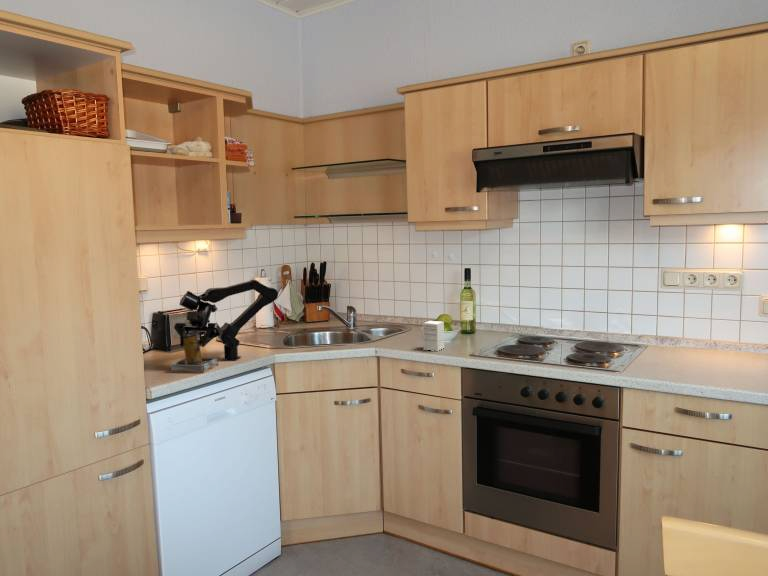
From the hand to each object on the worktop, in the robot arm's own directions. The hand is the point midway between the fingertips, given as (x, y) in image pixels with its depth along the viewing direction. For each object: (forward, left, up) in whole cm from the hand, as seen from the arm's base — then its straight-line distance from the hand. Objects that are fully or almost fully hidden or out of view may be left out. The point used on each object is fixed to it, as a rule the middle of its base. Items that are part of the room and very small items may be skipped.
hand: (191, 346), depth 253 cm
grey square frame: (-1, 0, -10) cm, 10 cm away
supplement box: (-44, +94, -10) cm, 105 cm away
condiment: (-1, +1, -8) cm, 8 cm away
